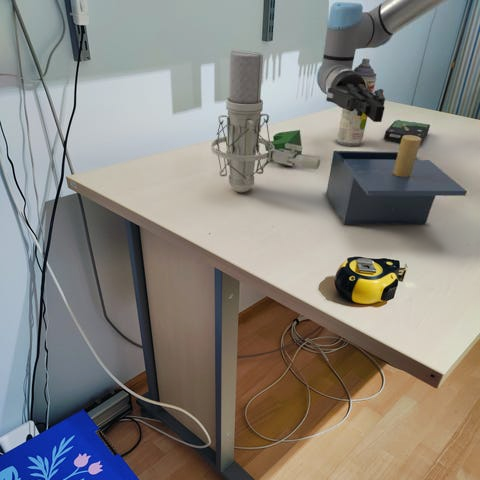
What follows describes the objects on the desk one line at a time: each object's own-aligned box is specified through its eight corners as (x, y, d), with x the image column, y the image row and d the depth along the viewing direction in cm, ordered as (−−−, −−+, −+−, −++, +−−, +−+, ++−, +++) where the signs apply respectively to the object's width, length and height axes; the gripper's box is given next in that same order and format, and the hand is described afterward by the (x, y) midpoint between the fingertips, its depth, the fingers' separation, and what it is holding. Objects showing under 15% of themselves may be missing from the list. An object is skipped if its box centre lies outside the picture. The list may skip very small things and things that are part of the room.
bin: (398, 194, 91) (410, 151, 85) (425, 224, 80) (441, 178, 75) (326, 194, 90) (333, 150, 84) (343, 224, 79) (353, 177, 73)
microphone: (298, 221, 80) (319, 69, 64) (199, 193, 87) (196, 52, 72) (322, 198, 88) (346, 59, 72) (230, 175, 96) (233, 45, 80)
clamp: (279, 171, 111) (279, 134, 109) (301, 169, 109) (301, 131, 107) (263, 166, 100) (262, 125, 98) (287, 164, 98) (287, 121, 96)
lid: (427, 164, 79) (440, 125, 75) (465, 195, 68) (482, 153, 64) (343, 163, 78) (350, 124, 74) (367, 195, 67) (377, 151, 63)
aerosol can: (356, 147, 114) (375, 62, 102) (332, 142, 117) (348, 58, 104) (364, 142, 119) (383, 59, 106) (341, 137, 121) (357, 56, 109)
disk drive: (420, 147, 117) (427, 133, 128) (423, 137, 116) (430, 123, 126) (382, 141, 121) (393, 127, 131) (385, 130, 119) (395, 118, 129)
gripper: (368, 105, 103) (406, 135, 85) (316, 104, 101) (342, 134, 83) (375, 70, 98) (417, 93, 80) (321, 69, 97) (350, 92, 79)
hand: (379, 114), depth 82 cm, fingers closed
